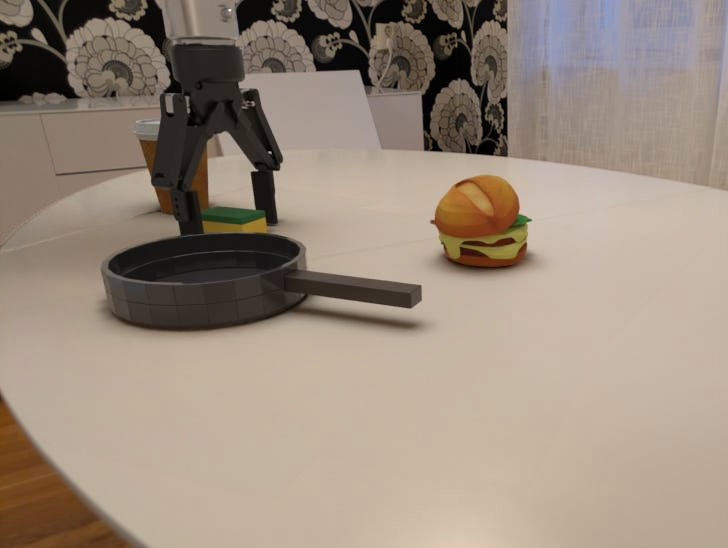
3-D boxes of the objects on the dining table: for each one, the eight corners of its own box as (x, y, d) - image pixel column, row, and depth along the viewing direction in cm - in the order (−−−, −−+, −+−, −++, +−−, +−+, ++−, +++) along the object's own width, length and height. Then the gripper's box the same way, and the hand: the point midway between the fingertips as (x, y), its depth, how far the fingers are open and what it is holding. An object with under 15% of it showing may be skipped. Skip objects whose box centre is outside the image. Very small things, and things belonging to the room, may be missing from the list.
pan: (64, 315, 57) (52, 270, 56) (203, 262, 72) (197, 225, 71) (230, 343, 52) (223, 295, 51) (343, 280, 67) (340, 241, 65)
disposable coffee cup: (191, 200, 102) (177, 116, 97) (235, 207, 97) (222, 120, 92) (134, 211, 94) (115, 121, 89) (178, 220, 90) (161, 125, 85)
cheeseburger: (548, 251, 77) (544, 167, 71) (504, 298, 70) (496, 209, 64) (472, 238, 81) (463, 158, 75) (424, 280, 74) (409, 196, 68)
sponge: (196, 237, 82) (192, 213, 80) (221, 229, 85) (217, 205, 84) (244, 243, 79) (241, 218, 78) (267, 234, 83) (264, 210, 82)
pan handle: (284, 291, 58) (282, 276, 57) (299, 284, 60) (297, 269, 59) (411, 309, 54) (410, 292, 54) (422, 300, 56) (422, 284, 56)
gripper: (144, 41, 62) (186, 264, 71) (299, 44, 83) (316, 216, 92) (82, 41, 64) (130, 258, 73) (248, 44, 85) (269, 211, 94)
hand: (233, 235), depth 82 cm, fingers open, 13 cm apart
